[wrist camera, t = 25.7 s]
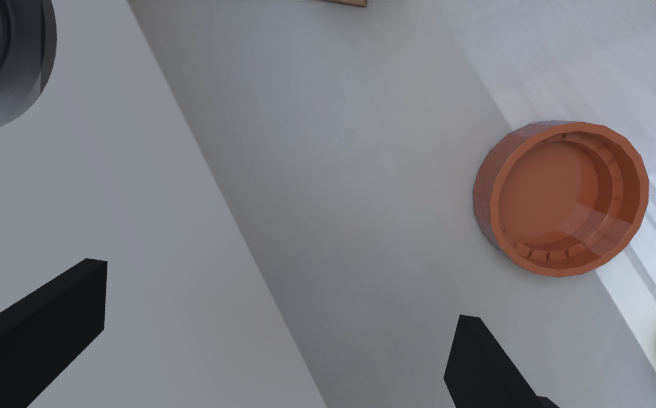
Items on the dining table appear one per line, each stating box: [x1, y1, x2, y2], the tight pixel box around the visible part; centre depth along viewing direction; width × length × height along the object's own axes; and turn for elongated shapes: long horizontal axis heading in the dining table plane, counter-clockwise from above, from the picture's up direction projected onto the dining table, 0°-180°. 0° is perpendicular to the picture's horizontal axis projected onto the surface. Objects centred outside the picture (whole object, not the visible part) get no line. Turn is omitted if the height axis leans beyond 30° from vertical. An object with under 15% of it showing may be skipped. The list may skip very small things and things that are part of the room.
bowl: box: [473, 120, 649, 277], centre depth 41 cm, size 15×15×5 cm
